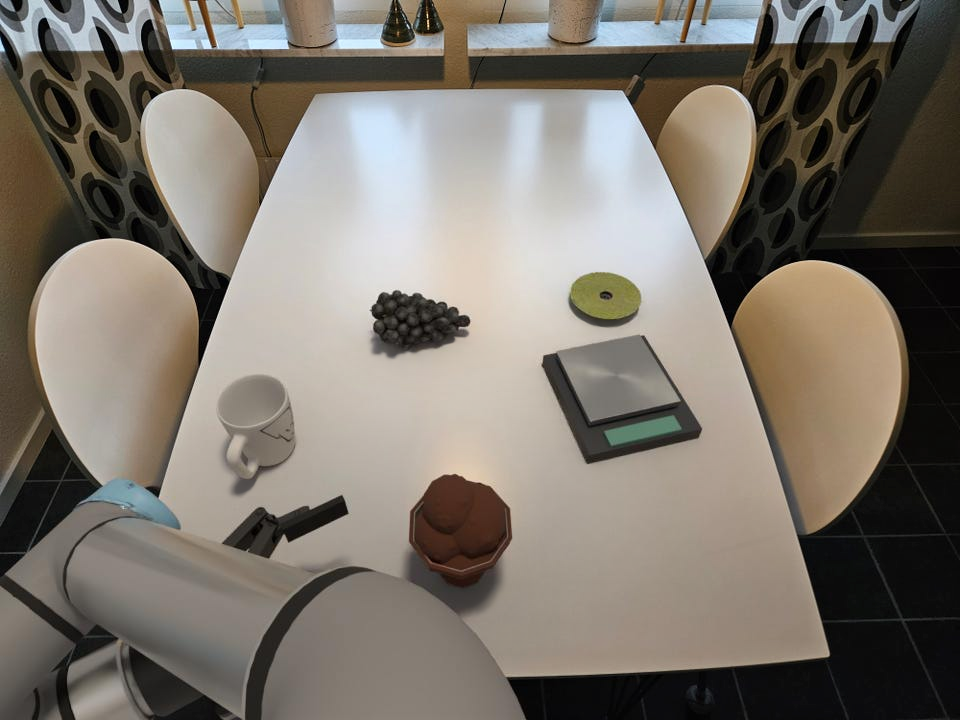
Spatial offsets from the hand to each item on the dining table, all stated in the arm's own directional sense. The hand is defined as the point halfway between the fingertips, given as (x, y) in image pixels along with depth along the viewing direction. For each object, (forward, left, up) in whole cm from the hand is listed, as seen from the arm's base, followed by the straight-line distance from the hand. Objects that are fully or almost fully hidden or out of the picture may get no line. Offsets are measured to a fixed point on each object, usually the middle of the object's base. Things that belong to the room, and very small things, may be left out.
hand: (373, 558), depth 62 cm
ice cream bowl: (+2, -9, -12) cm, 15 cm away
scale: (+20, -36, -12) cm, 43 cm away
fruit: (+39, -12, -12) cm, 43 cm away
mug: (+23, +12, -12) cm, 29 cm away
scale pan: (+22, -36, -9) cm, 43 cm away
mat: (+39, -42, -12) cm, 59 cm away
